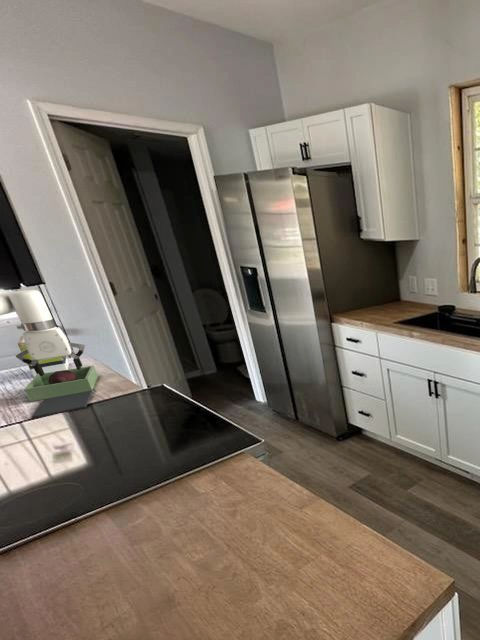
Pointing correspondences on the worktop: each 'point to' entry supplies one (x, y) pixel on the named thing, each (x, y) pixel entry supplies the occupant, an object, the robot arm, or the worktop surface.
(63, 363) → the tea box
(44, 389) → the basket
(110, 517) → the worktop surface
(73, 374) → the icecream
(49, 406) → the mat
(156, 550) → the worktop surface
